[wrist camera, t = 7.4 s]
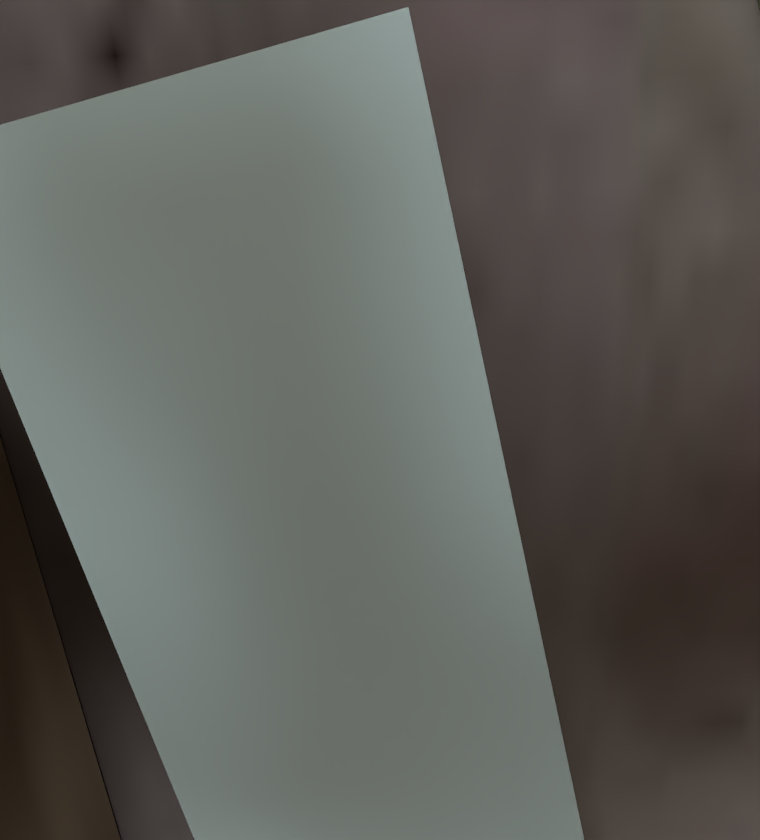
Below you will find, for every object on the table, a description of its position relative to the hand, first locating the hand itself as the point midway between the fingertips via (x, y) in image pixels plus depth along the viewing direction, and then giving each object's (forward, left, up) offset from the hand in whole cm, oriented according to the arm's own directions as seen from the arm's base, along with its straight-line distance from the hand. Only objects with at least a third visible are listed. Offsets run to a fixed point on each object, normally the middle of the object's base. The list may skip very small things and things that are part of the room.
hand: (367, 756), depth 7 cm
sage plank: (0, 0, -4) cm, 4 cm away
